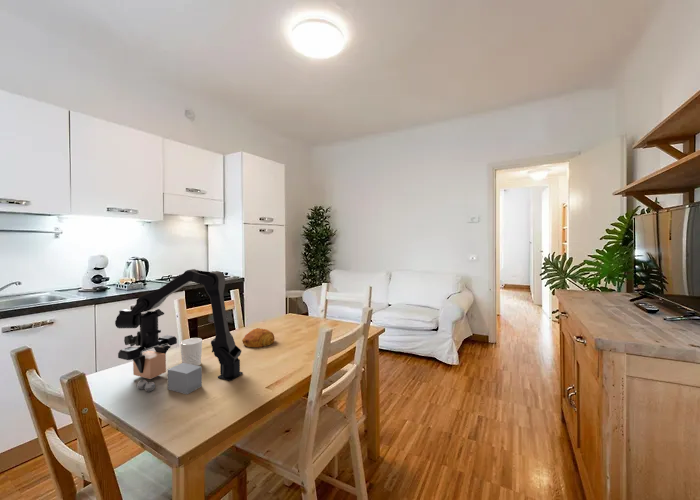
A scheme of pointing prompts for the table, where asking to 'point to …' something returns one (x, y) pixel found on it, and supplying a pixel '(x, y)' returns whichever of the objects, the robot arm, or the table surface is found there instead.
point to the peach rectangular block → (151, 365)
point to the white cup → (191, 351)
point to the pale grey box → (184, 378)
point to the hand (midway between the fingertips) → (149, 369)
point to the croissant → (258, 338)
